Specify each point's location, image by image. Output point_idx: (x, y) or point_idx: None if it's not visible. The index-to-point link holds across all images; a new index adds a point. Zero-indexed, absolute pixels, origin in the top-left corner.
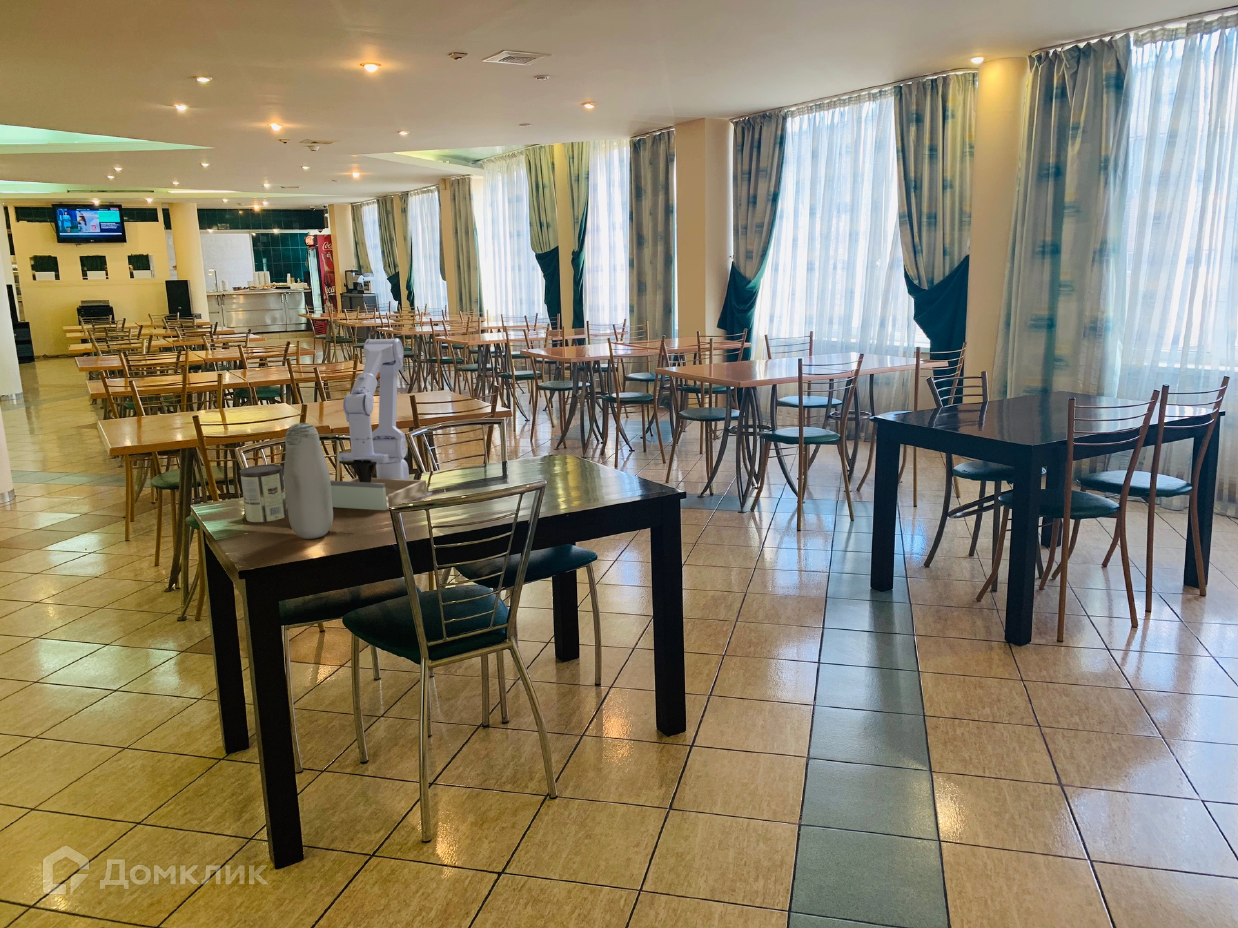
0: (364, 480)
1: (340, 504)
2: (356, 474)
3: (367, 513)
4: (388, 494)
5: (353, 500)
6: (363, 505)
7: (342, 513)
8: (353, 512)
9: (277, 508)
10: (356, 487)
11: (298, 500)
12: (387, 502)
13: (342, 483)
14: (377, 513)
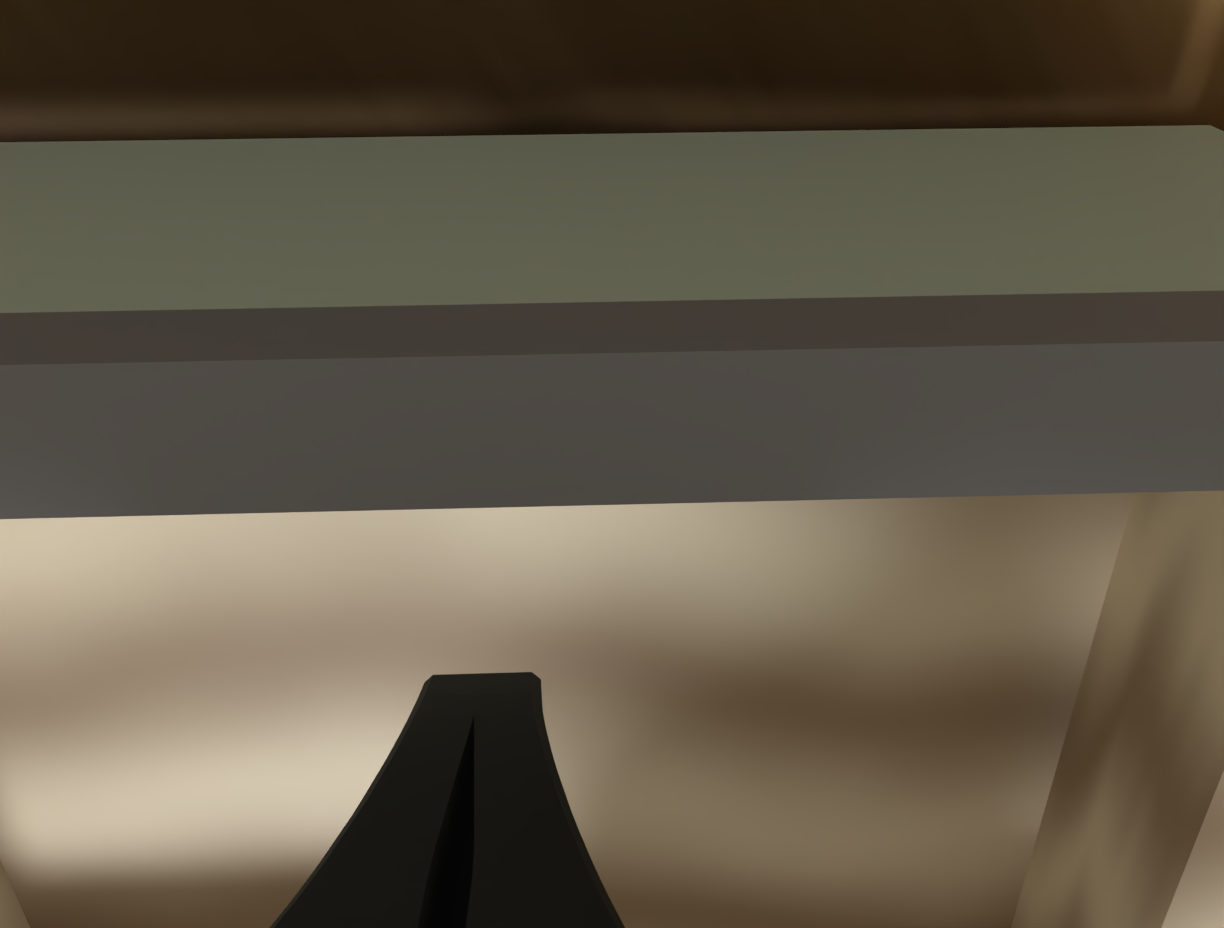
0: (389, 795)
1: (800, 148)
2: (611, 912)
3: (197, 137)
4: None
5: (441, 179)
6: (203, 155)
7: (685, 20)
8: None
9: None
10: (228, 301)
11: None
12: (163, 604)
13: (768, 336)
14: None
